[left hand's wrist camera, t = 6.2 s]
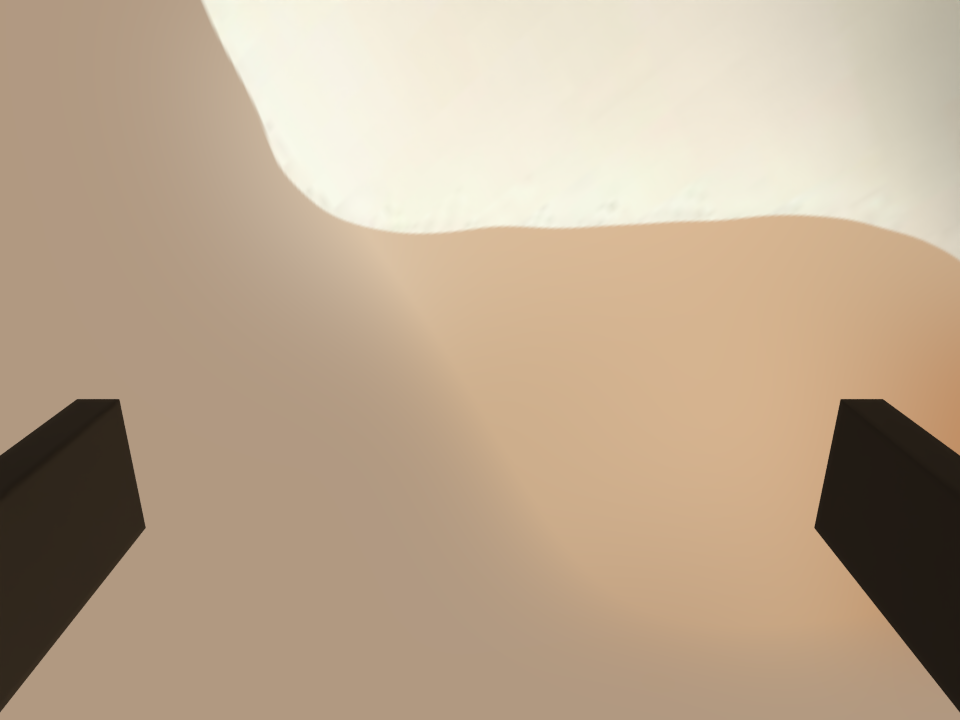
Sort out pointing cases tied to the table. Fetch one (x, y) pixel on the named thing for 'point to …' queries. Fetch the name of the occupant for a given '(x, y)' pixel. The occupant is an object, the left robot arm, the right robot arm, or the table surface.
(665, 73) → the table surface
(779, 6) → the table surface
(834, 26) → the table surface
